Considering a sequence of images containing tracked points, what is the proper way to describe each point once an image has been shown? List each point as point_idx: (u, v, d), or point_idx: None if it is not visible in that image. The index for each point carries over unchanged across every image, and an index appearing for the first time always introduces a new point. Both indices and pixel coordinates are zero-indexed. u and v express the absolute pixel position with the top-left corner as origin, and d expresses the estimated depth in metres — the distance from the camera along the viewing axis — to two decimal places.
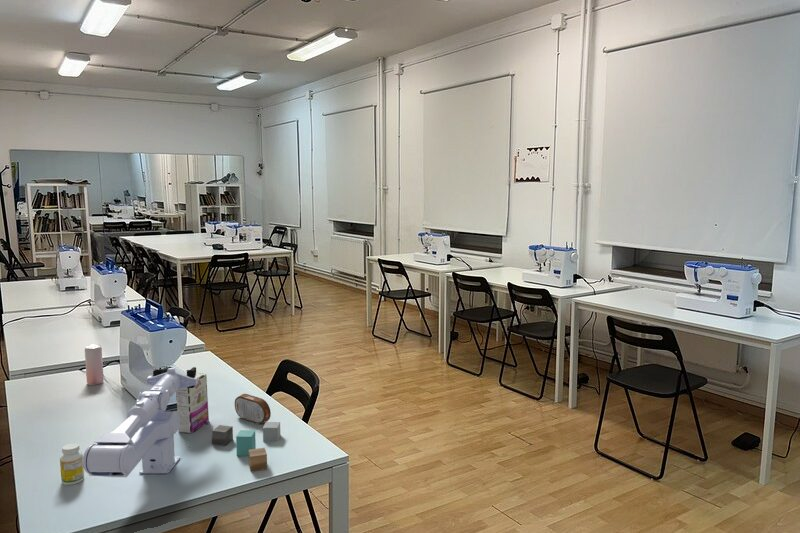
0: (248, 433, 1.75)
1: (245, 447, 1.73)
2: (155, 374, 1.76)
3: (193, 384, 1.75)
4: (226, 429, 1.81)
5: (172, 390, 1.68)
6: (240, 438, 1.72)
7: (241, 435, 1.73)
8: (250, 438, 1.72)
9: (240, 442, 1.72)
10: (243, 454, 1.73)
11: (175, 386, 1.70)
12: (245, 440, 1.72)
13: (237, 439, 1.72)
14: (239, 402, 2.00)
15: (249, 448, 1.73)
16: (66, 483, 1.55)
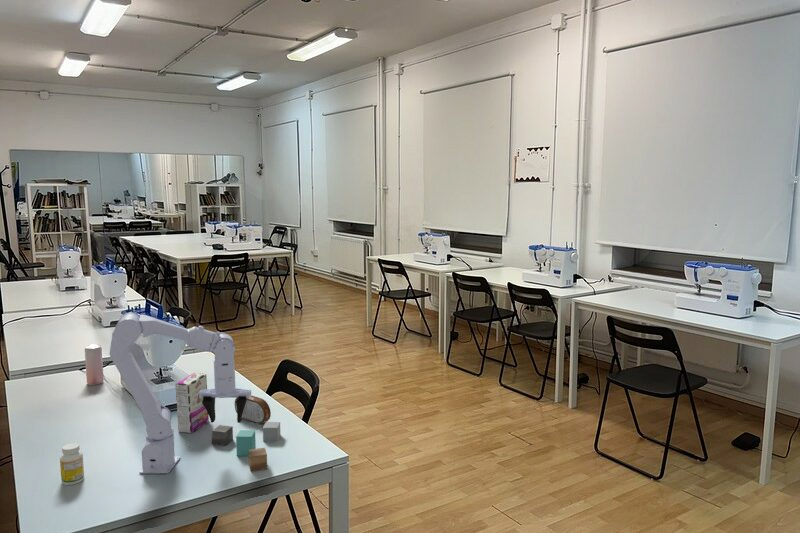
0: (248, 433, 1.75)
1: (245, 447, 1.73)
2: (243, 399, 1.70)
3: (204, 390, 1.71)
4: (226, 429, 1.81)
5: (225, 371, 1.67)
6: (240, 438, 1.72)
7: (241, 435, 1.73)
8: (250, 438, 1.72)
9: (240, 442, 1.72)
10: (243, 454, 1.73)
11: None
12: (245, 440, 1.72)
13: (237, 439, 1.72)
14: None
15: (249, 448, 1.73)
16: (66, 483, 1.55)
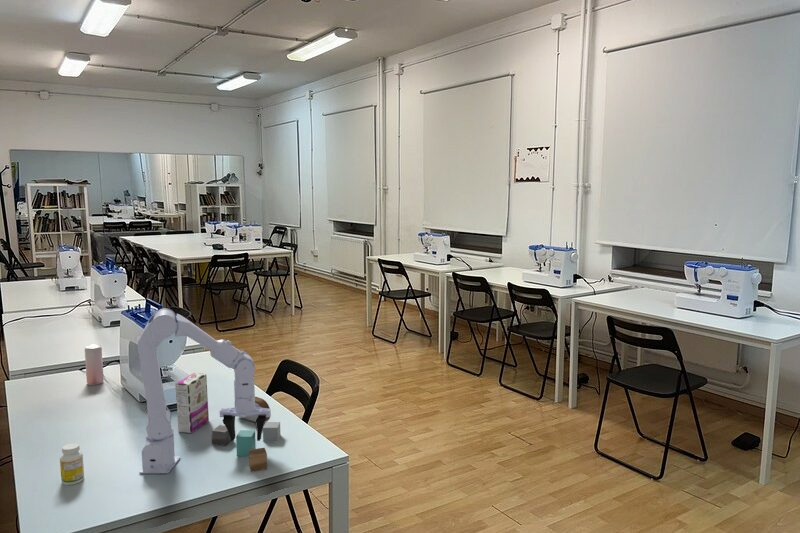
0: (248, 433, 1.75)
1: (245, 447, 1.73)
2: (262, 418, 1.73)
3: (224, 409, 1.74)
4: (226, 429, 1.81)
5: (246, 391, 1.70)
6: (240, 438, 1.72)
7: (241, 435, 1.73)
8: (250, 438, 1.72)
9: (240, 442, 1.72)
10: (243, 454, 1.73)
11: None
12: (245, 440, 1.72)
13: (237, 439, 1.72)
14: None
15: (249, 448, 1.73)
16: (66, 483, 1.55)
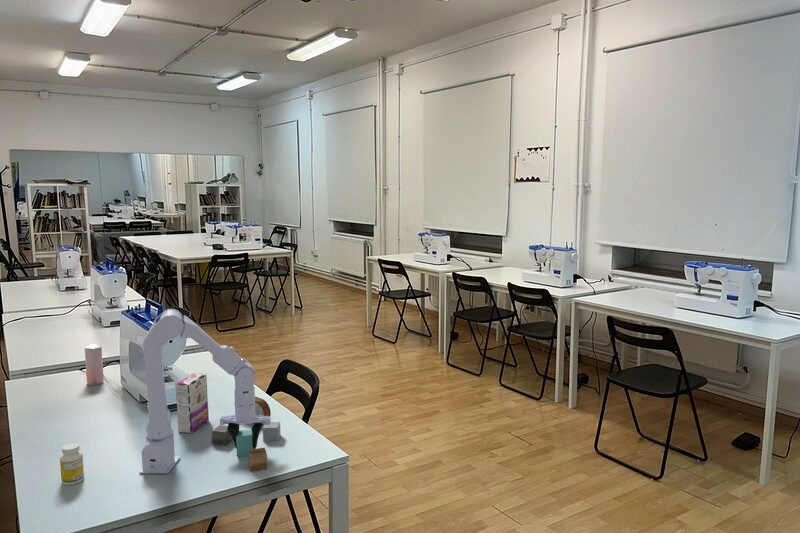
0: (248, 433, 1.75)
1: (245, 447, 1.73)
2: None
3: None
4: (226, 429, 1.81)
5: (246, 399, 1.70)
6: (240, 438, 1.72)
7: (241, 435, 1.73)
8: (250, 438, 1.72)
9: (240, 441, 1.72)
10: (243, 454, 1.73)
11: None
12: (245, 439, 1.72)
13: (237, 439, 1.72)
14: None
15: (249, 448, 1.73)
16: (66, 483, 1.55)
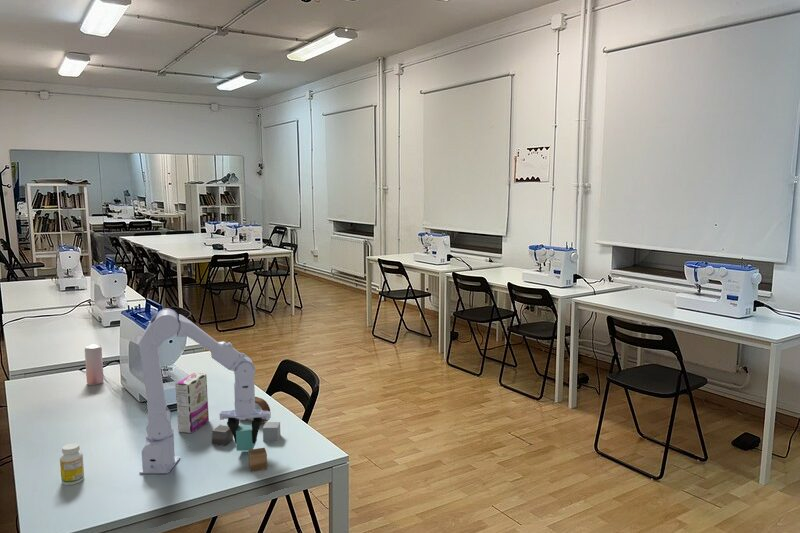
0: (248, 428, 1.74)
1: (245, 441, 1.72)
2: None
3: (224, 412, 1.74)
4: (226, 429, 1.81)
5: (246, 393, 1.70)
6: (240, 433, 1.72)
7: (241, 430, 1.73)
8: (250, 433, 1.72)
9: (240, 436, 1.72)
10: (243, 449, 1.73)
11: None
12: (245, 434, 1.72)
13: (237, 434, 1.72)
14: None
15: (249, 443, 1.73)
16: (66, 483, 1.55)
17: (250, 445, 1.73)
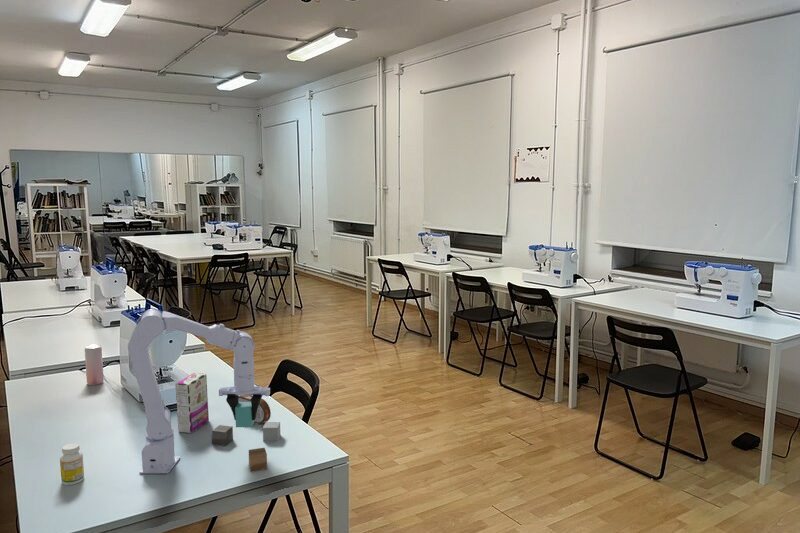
0: (247, 404, 1.73)
1: (244, 418, 1.72)
2: None
3: (223, 388, 1.73)
4: (226, 429, 1.81)
5: (245, 369, 1.69)
6: (239, 409, 1.71)
7: (240, 406, 1.72)
8: (249, 409, 1.71)
9: (239, 413, 1.71)
10: (242, 425, 1.72)
11: None
12: (244, 411, 1.71)
13: (236, 410, 1.71)
14: None
15: (248, 419, 1.72)
16: (66, 483, 1.55)
17: (249, 421, 1.72)
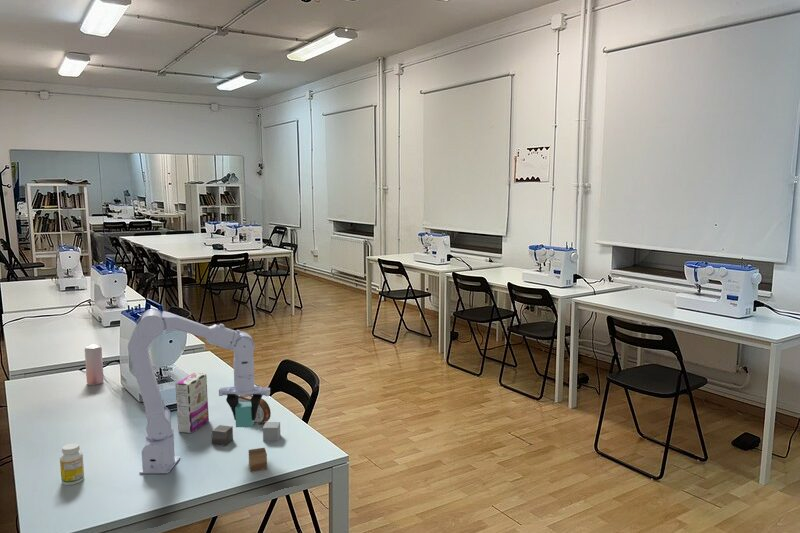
0: (247, 404, 1.73)
1: (244, 418, 1.72)
2: None
3: (223, 388, 1.73)
4: (226, 429, 1.81)
5: (245, 369, 1.69)
6: (239, 409, 1.71)
7: (240, 406, 1.72)
8: (249, 409, 1.71)
9: (239, 413, 1.71)
10: (242, 425, 1.72)
11: None
12: (244, 411, 1.71)
13: (236, 410, 1.71)
14: None
15: (248, 419, 1.72)
16: (66, 483, 1.55)
17: (249, 421, 1.72)
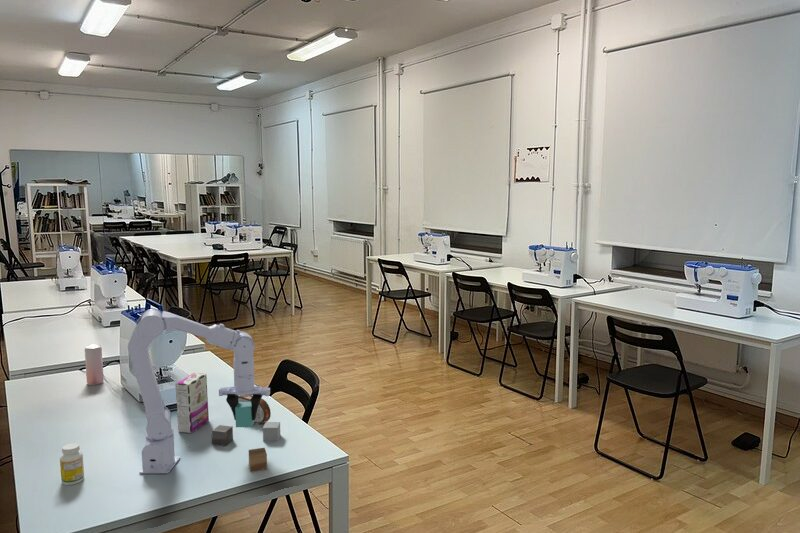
0: (247, 404, 1.73)
1: (244, 418, 1.72)
2: None
3: (223, 388, 1.73)
4: (226, 429, 1.81)
5: (245, 369, 1.69)
6: (239, 409, 1.71)
7: (240, 406, 1.72)
8: (249, 409, 1.71)
9: (239, 413, 1.71)
10: (242, 425, 1.72)
11: None
12: (244, 411, 1.71)
13: (236, 410, 1.71)
14: None
15: (248, 419, 1.72)
16: (66, 483, 1.55)
17: (249, 421, 1.72)
